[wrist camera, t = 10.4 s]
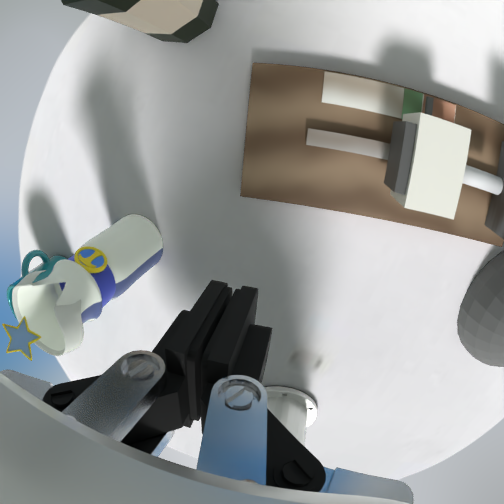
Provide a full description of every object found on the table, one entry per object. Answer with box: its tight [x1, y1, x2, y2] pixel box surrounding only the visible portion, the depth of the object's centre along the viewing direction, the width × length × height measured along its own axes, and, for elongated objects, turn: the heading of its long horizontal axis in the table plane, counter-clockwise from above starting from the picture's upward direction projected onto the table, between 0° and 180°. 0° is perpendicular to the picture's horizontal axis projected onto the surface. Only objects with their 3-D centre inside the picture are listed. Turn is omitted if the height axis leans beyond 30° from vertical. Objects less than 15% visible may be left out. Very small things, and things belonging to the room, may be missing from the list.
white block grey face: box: [384, 96, 503, 220], centre depth 21 cm, size 10×12×5 cm
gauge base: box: [240, 63, 504, 247], centre depth 23 cm, size 14×32×10 cm, turn 85°
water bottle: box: [2, 214, 163, 361], centre depth 27 cm, size 8×9×25 cm
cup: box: [7, 250, 67, 322], centre depth 39 cm, size 9×12×11 cm
